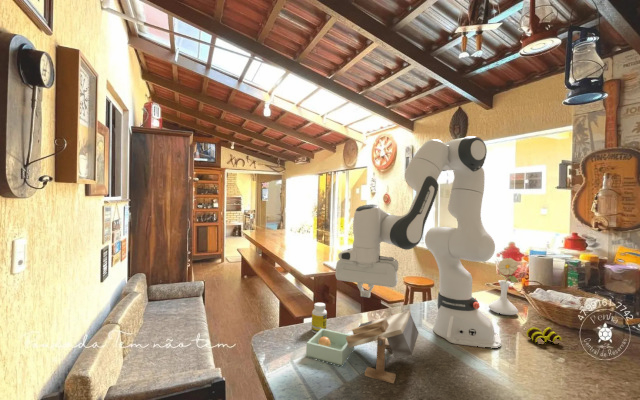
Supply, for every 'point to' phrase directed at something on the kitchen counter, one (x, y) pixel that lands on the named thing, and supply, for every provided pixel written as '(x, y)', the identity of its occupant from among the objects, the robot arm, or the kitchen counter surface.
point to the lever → (388, 333)
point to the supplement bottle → (319, 317)
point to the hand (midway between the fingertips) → (365, 296)
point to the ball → (324, 341)
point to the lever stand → (381, 362)
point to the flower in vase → (505, 288)
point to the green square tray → (331, 354)
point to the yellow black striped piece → (542, 334)
